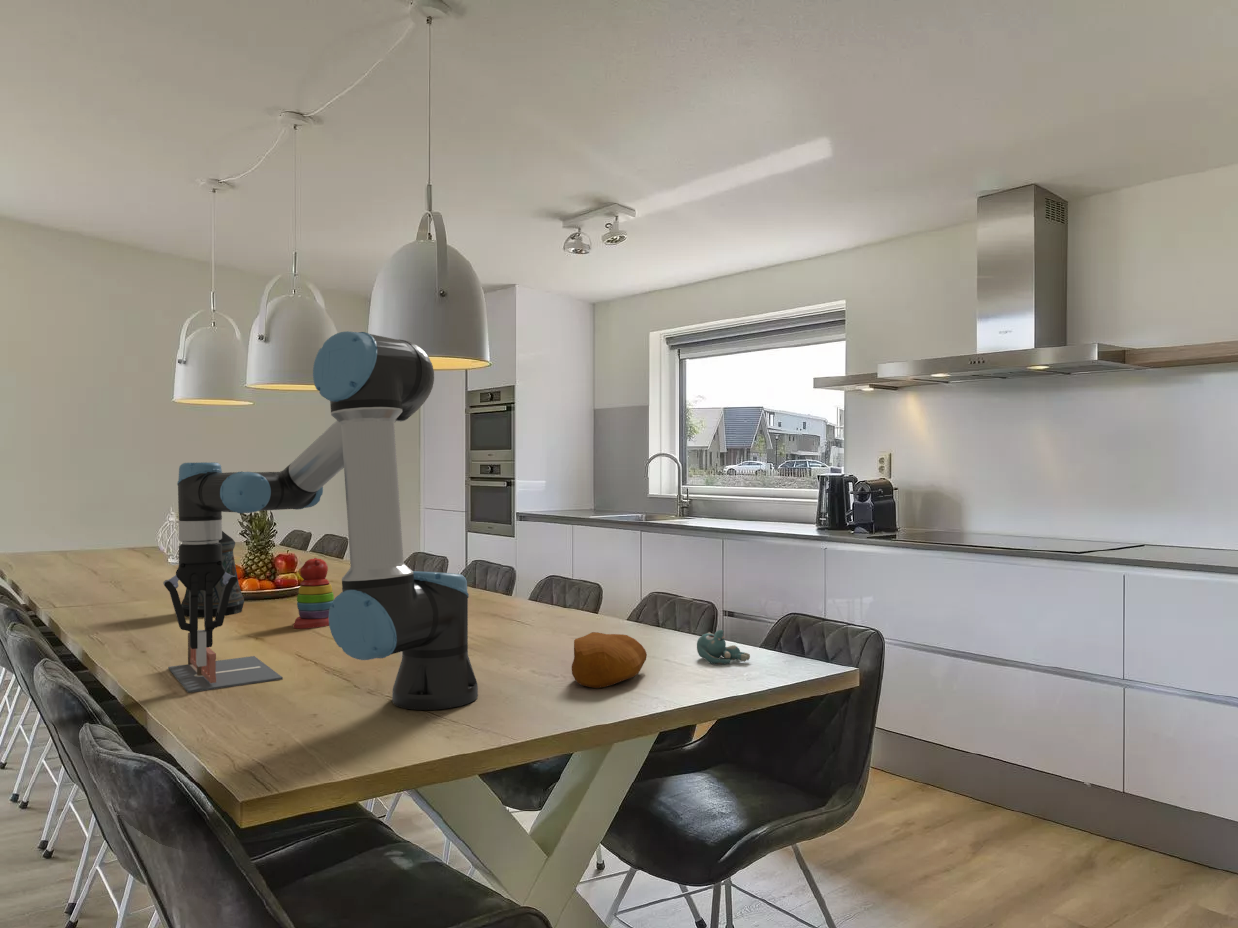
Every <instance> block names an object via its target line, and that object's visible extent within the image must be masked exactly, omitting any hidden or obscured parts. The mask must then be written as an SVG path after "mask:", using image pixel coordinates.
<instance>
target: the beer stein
mask: <svg viewBox="0 0 1238 928" xmlns="http://www.w3.org/2000/svg"><path fill="white" fill-rule="evenodd" d="M219 543H221V544H222V565H223V567H224V568H225V572H226V573H228V574H230V575H231V576H232V575H233V576H235V577H236V578H237V582H236V583H235V585H234V586H233V588H232V589H231V593H230V597H229V601H228V605H227V609H226V613H225V616H226V617H227V616H231V615H236V614H237V615H238V614H240V613H242V612H243V609H244V603H245V597H244V596H243V594H242V593H243V592H242V590H241V586H240V583H239V578H238V572H237V567H236V562H235V556H234V549H235V546H236V541H235V539H234V538H232V537H231V536H229V534H227V533H225V531H224V530H222V539H221V540H219ZM223 586H224V584H223V577H222V578H221V579H220V581H219V582H218V583H217V585H216V586H215V587H214V588H213V596H212V598H213V618H216V614H217V610H218V606H219V602H220V598H221V594H222V590H223ZM181 605H182V609H183V613H184V616H185V618H186V617H188V618H189V590H188V589H187V588H186V587H185V593H184V597H183V598H182V601H181ZM198 618H204V590H200V591H198Z"/></svg>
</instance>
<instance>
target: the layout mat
mask: <svg viewBox="0 0 1238 928" xmlns="http://www.w3.org/2000/svg"><path fill="white" fill-rule="evenodd" d="M168 670H169V671H170V672H171V674H172V675H173V676H174V677H175V679H176V680H177V681H178V683H179V684H180V685H181V686H182V687H183V688H184V690H185V692H187V693H189V694H190V693H191V694H192V693H196V692H203V691H210V690H218V689H225V688H231V687H232V688H233V687H239V686H244V685H252V684H260V683H266V682H273V681H274V682H275V681H280V680H283V679H284V678H283V676H282V675H280V674H279V673H278V672H276V671H275V670H274V669H272V668H271V667H270V666H268V665H267V664H266V663H264V662H263V661H261V660H260V659H259V658H258V657H257V656H255V655H250V656H243V657H242V656H241V657H235V658H229V659H226V658H225V659H220V660H218V659H217V660H216V682H215V683H210V682H209V681H208V680H207V679H206V678H205V677H204V676H198V675H197V669H196V668H195V667H194V666H193V665H188V663H187V664H179V665H174V666H173V665H172V666H168Z"/></svg>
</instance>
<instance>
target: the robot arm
mask: <svg viewBox="0 0 1238 928" xmlns="http://www.w3.org/2000/svg"><path fill="white" fill-rule="evenodd" d="M312 379H313V384H314V387H315V389H316V390H317V391H319V394H320V396H321V397H323V398H324V399H325V400H327V401H328V402H329V405H330V416H331V417H332V418H333V419H335V422H334V423H332V424H331V425H330V426H329V427H328V428H327V429H326V430H325V431H324V432H322V433H321V435H320V436H318V437H317V438H316V439H315V440H313V442H312V443H311V444H310V445H309V446H308V447H307V448H306V449H305V450H303V451H302V452H301V453H300V454H299V455H298V456H297V457H295V458H294V460H293V461H291V462H290V463H289V465H287V466H286V467H285V468H284V469H283V470H281V471H236V472H235V471H233V472H232V471H231V472H223V471H222V470H223V469H222V465H221V464H220V463H219V462H207V461H206V462H204V461H203V462H183V463H181V464H180V465H179V467H178V481H177V483H176V485H177V495H178V497H177V499H178V500H177V503H178V504H177V505H178V509H177V510H178V541H179V542H181V544H179V546H178V568H177V569H176V571H175V575H173V576H172V577H171V578H169V579H165V580H164V581H163V582H162V583H163V585H164V587H165V589H166V590H167V591H168V592H169V595H170V600H171V603H172V606H173V609H174V613H175V616H176V620H177V623H178V626H179V629H180V630H181V631H186V632H188V633H190V647H191V649H196V664H197V666H198V667H200V666H207V663H206V647H209V648H211V647H213V644H214V643H213V642H214V641H213V638H214V637H213V632H214V629H217V628H219V627H222V626H223V624H224V621H225V613H226V609H227V605H228V601H229V597H230V593H231V589H232V588H233V586H234V585H235V583H236V582H237V578H236V577H235V576H233V575H232V576H231V575H230V574H228V573H226V572H225V568H224V567H223V565H222V544H221V543H219V540H221V539H222V531H223V524H222V523H223V521H222V518H223V516H222V513H224V512H225V513H237V514H251V513H257V512H265V511H266V512H267V511H278V510H279V511H281V510H295V511H296V510H303V509H307V508H312V507H315V506H316V505H317V504H318V503H320V500H321V497H322V496H323V492H324V489H323V488H324V486H325V485H326V484H327V483H328V482H330V481H331V480H332V479H333V478H334V477H335V476H336V475H337V474H338V473H339V472H341V470H343V471H344V488H345V502H346V515H347V516H346V517H347V518H346V519H347V531H348V533H347V534H348V547H349V548H348V549H349V561H350V563H349V565H350V567H349V569H348V570H347V572H346V573H345V574H344V575H343V576H342V578H341V586H342V587H341V589H342V590H341V591H342V592H340V593H339V594H338V595H336V597H334V600H333V604H332V605H331V606H330V609H329V625H328V626H329V631H330V633H331V637H332V639H334V641H335V644H336V645H337V646H338V647H339V648H341V649H342V651H343V653H345V654H346V655H347V656H348V657H351V658H353V659H356V660H360V661H369V660H374V659H385V658H386V657H389V656H391V655H394V654H398V653H402V655H401V656H402V657H401V661H400V664H399V667H398V671H397V674H396V677H395V681H394V683H393V687H392V691H391V692H392V695H391V697H392V704H393V705H395V706H396V707H399V708H402V709H408V710H419V711H420V710H421V711H432V710H433V711H434V710H435V711H436V710H445V709H453V708H457V707H461V706H465V705H467V704H471V703H472V702H474V701H475V700H478V696H479V694H478V693H479V686H478V685H479V684H478V680H477V679H476V676H475V673H474V670H473V666H472V663H471V660H470V657H469V647H468V646H469V644H468V643H469V641H468V640H469V639H468V637H469V634H468V633H469V630H468V627H469V624H468V623H469V620H468V619H469V617H468V616H469V614H468V613H469V612H468V611H469V607H468V606H469V602H468V599H469V597H470V596H469V592H468V581H467V579H466V577H465V576H464V575H463V574H461V573H453V572H440V571H439V572H437V571H418V570H417V571H415V570H412V569H411V568H410V567H408V566H407V564H406V563H405V562H404V552H403V551H404V549H403V536H402V523H401V521H402V520H401V507H400V504H401V503H400V491H399V490H400V489H399V477H398V476H399V475H398V460H397V459H398V458H397V447H396V445H397V444H396V434H395V433H396V432H395V431H396V430H395V424H396V422H405V421H406V420H408V419H409V418H410V417H411V416H412V415H414V414H415V413H416V412H417V411H418V410H419V409H420V408H421V407H422V406H423V404H425V403H426V401H427V399H428V398H429V397H430V395H431V392H432V391H433V388H434V384H435V383H434V382H435V370H434V365H433V363H432V360H431V359H430V357H429V356H428V354H427V353H426V352H425V351H424V350H423V349H422V347H420V346H419V345H417V344H415V343H413V342H412V341H408V340H404V339H397V338H392V337H386V336H381V335H376V334H372V333H368V332H365V331H360V332H357V331H349V330H348V331H341V332H337V333H334V334H333V335H331V336H330V337H328V338H327V339H326V340H325V341H324V342H323V344H322V347H321V348H319V350H318V352H317V354H316V355H315V359H314V361H313V369H312ZM222 577H223V584H224V586H223V590H222V594H221V598H220V602H219V606H218V610H217V614H216V617H213V598H212V596H213V588H214V587H215V586H216V585H217V583H218V582H219V581H220V579H221V578H222ZM179 581H180V582H181V583H182V585H183V586H184V587H185V589H186V588H187V589H188V590H189V617H188V618H189V623H188V622H187V620H186V616H184V613H183V609H182V605H181V603H182V601H181V598H180V595H179V592H178V590H177V589H178V587H179V583H178V582H179ZM200 590H204V617H203V618H204V622H203V623H204V625H203V626H204V629H199V627H198V626H199V623H198V622H199V617H198V591H200ZM213 618H214V619H213Z"/></svg>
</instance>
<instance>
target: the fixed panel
mask: <svg viewBox="0 0 1238 928" xmlns="http://www.w3.org/2000/svg"><path fill="white" fill-rule="evenodd" d="M187 664H188V665H193V666H194V667H195V668H196V669H197V675H198V676H203V675H202V674H201V669H202V666H200V667H198V666H197V664H196V649H191V647H190V632H188V633H187Z"/></svg>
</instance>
